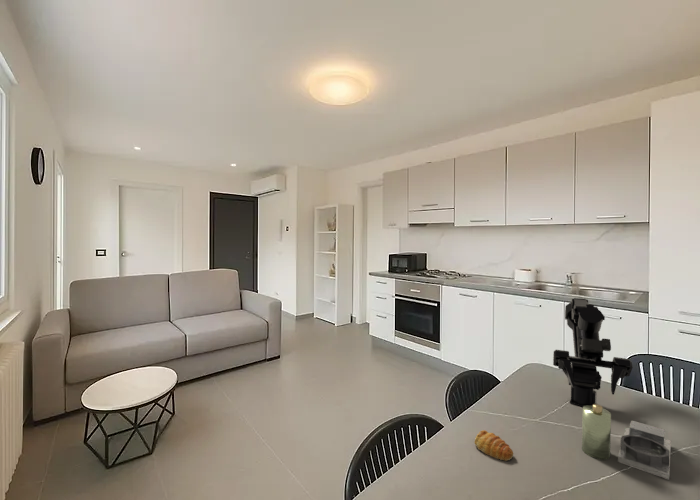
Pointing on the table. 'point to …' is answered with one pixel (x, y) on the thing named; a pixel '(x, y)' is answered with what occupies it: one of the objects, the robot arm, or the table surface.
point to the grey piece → (646, 449)
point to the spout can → (596, 432)
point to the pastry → (493, 445)
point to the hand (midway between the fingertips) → (592, 390)
